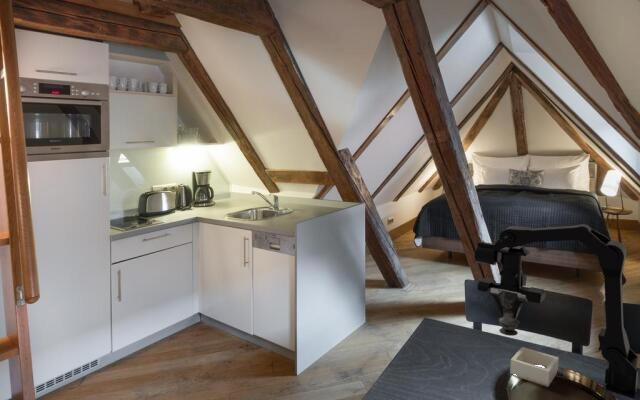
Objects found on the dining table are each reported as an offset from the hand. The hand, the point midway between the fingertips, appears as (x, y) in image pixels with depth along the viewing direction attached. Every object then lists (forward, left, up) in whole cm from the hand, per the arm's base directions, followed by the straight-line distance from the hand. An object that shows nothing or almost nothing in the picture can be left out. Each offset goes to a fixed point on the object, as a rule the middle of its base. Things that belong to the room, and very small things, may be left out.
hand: (509, 316), depth 133 cm
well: (-9, +6, -13) cm, 17 cm away
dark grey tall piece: (0, 0, -5) cm, 5 cm away
